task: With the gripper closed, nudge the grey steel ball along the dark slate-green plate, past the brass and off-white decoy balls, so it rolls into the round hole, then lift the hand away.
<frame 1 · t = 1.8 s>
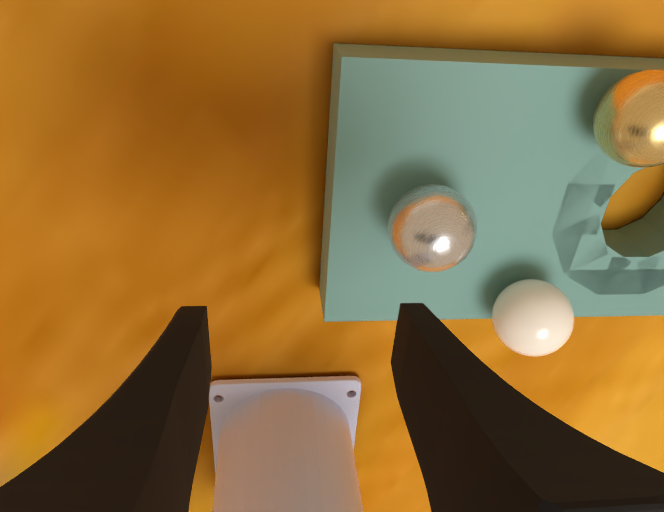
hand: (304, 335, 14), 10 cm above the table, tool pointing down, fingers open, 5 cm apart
bearing plate: (538, 184, 23), on the table
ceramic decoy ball: (531, 317, 22), point 4 cm above the table, touching bearing plate
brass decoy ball: (645, 119, 18), point 4 cm above the table, tilted 8°, touching bearing plate
steel ball: (431, 228, 19), point 4 cm above the table, touching bearing plate
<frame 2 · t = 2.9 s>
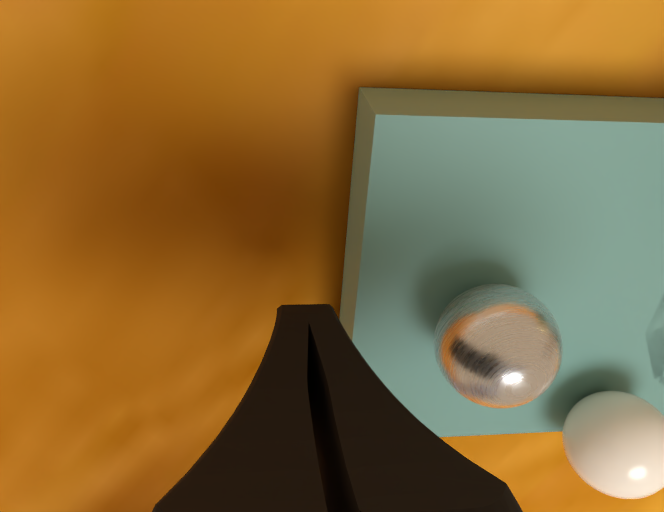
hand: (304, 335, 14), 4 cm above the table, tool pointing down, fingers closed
bearing plate: (618, 260, 18), on the table
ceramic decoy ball: (617, 443, 16), point 4 cm above the table, touching bearing plate
steel ball: (496, 344, 14), point 4 cm above the table, touching bearing plate
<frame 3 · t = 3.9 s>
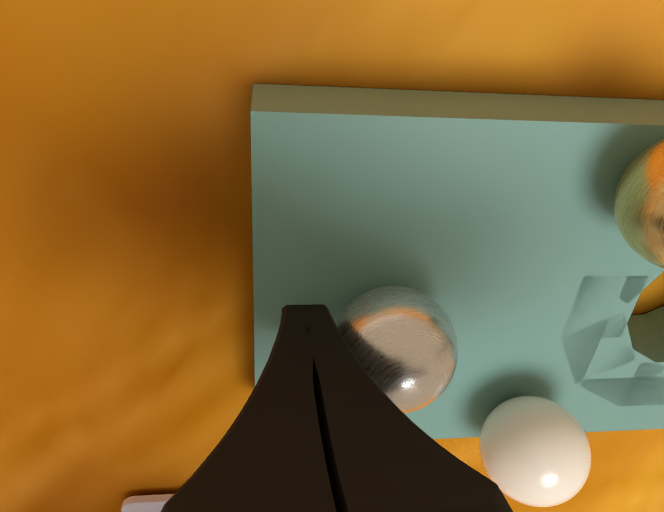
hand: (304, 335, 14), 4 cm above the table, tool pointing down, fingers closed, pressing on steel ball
bearing plate: (541, 263, 18), on the table
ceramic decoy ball: (533, 449, 16), point 4 cm above the table, touching bearing plate
steel ball: (393, 348, 13), point 4 cm above the table, touching bearing plate, gripper
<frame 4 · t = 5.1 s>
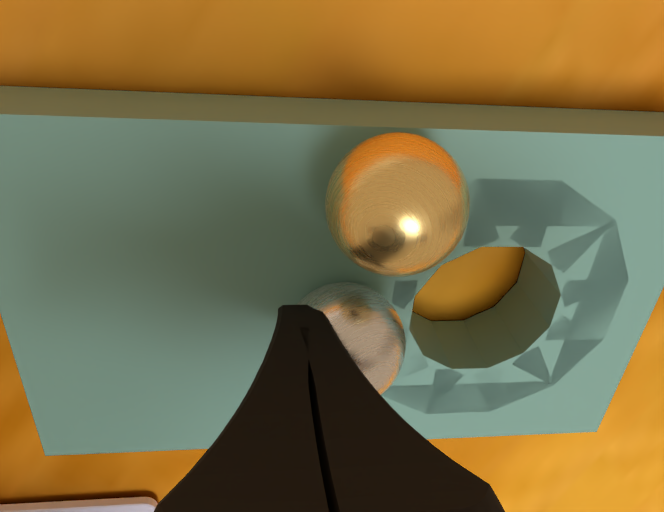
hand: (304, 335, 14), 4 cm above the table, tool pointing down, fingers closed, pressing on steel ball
bearing plate: (342, 268, 17), on the table
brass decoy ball: (396, 205, 12), point 4 cm above the table, tilted 22°, touching bearing plate
steel ball: (344, 343, 14), point 4 cm above the table, tilted 157°, touching bearing plate, gripper
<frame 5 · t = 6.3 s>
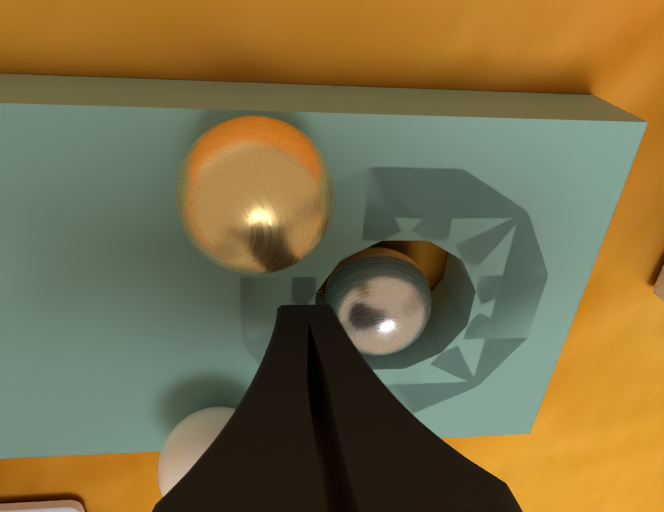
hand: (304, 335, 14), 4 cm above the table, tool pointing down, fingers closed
bearing plate: (252, 263, 16), on the table
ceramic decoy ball: (216, 464, 15), point 4 cm above the table, touching bearing plate
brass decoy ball: (256, 196, 11), point 4 cm above the table, tilted 27°, touching bearing plate
steel ball: (377, 300, 16), point 2 cm above the table, tilted 8°
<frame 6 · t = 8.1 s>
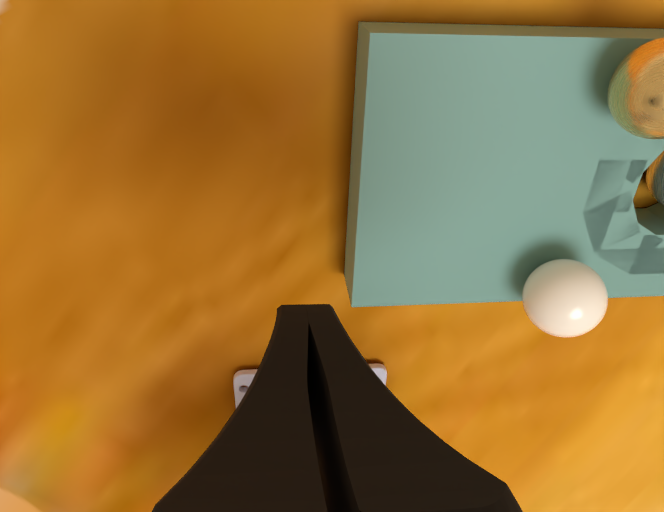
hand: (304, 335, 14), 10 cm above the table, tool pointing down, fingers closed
bearing plate: (566, 163, 23), on the table
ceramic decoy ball: (563, 297, 21), point 4 cm above the table, touching bearing plate
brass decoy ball: (662, 89, 17), point 4 cm above the table, tilted 34°, touching bearing plate
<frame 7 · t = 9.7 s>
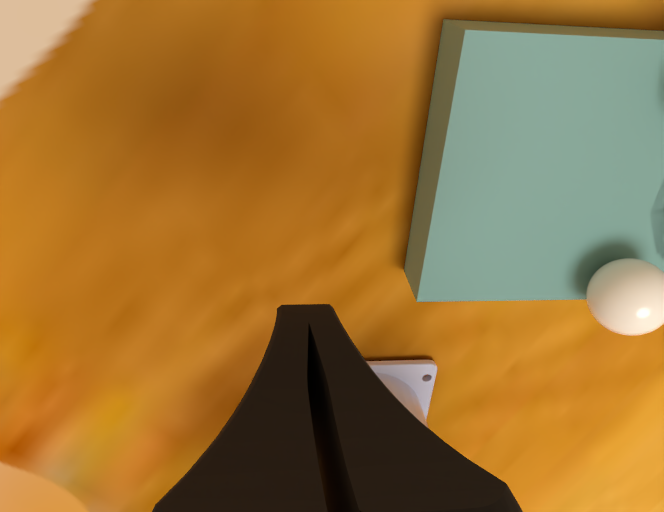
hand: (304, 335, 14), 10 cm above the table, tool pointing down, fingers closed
bearing plate: (629, 165, 23), on the table
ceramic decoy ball: (629, 296, 22), point 4 cm above the table, touching bearing plate
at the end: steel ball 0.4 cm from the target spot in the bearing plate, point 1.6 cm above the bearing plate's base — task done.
